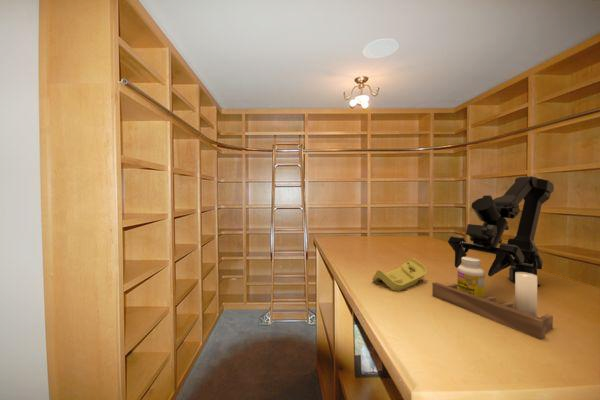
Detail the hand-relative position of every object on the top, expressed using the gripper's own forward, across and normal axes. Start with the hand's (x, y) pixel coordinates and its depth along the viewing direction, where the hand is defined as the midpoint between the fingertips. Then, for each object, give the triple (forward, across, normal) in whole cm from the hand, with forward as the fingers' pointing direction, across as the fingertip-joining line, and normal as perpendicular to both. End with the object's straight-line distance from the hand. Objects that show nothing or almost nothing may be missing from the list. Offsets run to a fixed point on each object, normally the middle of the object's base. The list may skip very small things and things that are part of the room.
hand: (471, 270), depth 71 cm
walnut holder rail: (+9, +5, +4) cm, 11 cm away
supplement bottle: (+7, 0, +6) cm, 9 cm away
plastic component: (+11, -20, +2) cm, 23 cm away
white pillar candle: (+7, +13, +6) cm, 16 cm away
